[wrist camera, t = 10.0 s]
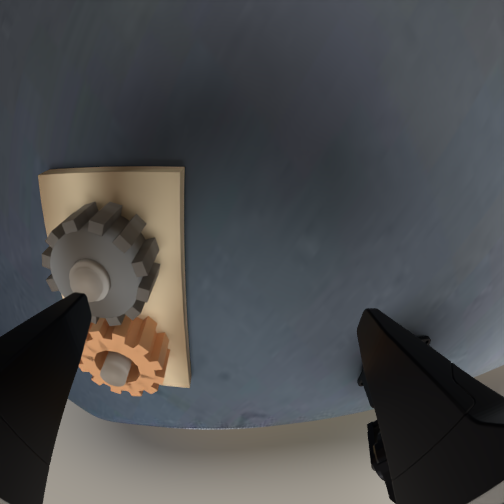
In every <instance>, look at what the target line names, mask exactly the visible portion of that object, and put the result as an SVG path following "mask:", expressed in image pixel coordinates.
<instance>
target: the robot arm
mask: <svg viewBox="0 0 504 504" xmlns="http://www.w3.org/2000/svg"><path fill="white" fill-rule="evenodd" d="M91 319H92V314H91V310H90V306H89V302H88V298H87V296H86V294H84V293H79V292H74V293H72V294H70V295H68V296H67V297H65V298H63V299H62V300H60V301H58V302H56V303H55V304H53V305H51V306H50V307H48V308H46V309H45V310H43V311H41V312H40V313H38V314H36V315H35V316H33V317H31V318H30V319H28V320H27V321H25V322H23V323H22V324H20V325H18V326H17V327H15V328H14V329H12V330H10V331H9V332H7V333H6V334H4V335H3V336H1V337H0V504H43V498H44V492H45V487H46V481H47V476H48V472H49V465H50V462H51V457H52V453H53V449H54V444H55V441H56V437H57V433H58V429H59V426H60V422H61V419H62V415H63V412H64V408H65V405H66V402H67V399H68V396H69V392H70V389H71V386H72V383H73V380H74V377H75V375H76V372H77V369H78V366H79V363H80V360H81V357H82V353H83V350H84V346H85V342H86V338H87V334H88V330H89V327H90V323H91ZM357 337H358V342H359V347H360V352H361V358H362V363H363V369H364V370H363V372H362V374H361V376H360V378H359V380H358V385H359V386H364V389H365V391H366V394H367V397H368V400H369V403H370V406H371V407H372V408H374V409H375V412H376V416H377V420H376V421H374V422H371V423H369V424H367V428H368V441H369V450H370V458H371V466H372V469H373V470H374V471H376V473H377V474H378V476H379V477H380V478H381V479H382V480H384V481H385V484H386V487H387V490H388V494H389V498H390V499H391V500H392V501H393V502H394V503H395V504H504V397H503V396H501V395H500V394H498V393H496V392H495V391H493V390H492V389H490V388H489V387H487V386H485V385H484V384H482V383H481V382H479V381H478V380H476V379H475V378H473V377H471V376H470V375H469V374H467V373H466V372H464V371H463V370H462V369H460V368H459V367H457V366H456V365H455V364H453V363H451V361H449V360H448V359H447V358H445V357H444V356H442V355H441V354H440V353H438V352H437V351H436V350H434V349H433V348H431V347H430V346H429V343H430V341H431V339H430V338H429V337H428V336H424V337H416V336H415V335H413V334H412V333H411V332H409V331H408V330H406V329H405V328H404V327H402V326H401V325H399V324H398V323H397V322H395V321H394V320H392V319H391V318H390V317H388V316H387V315H385V314H384V313H382V312H381V311H380V310H378V309H376V308H367V309H365V310H364V312H363V314H362V317H361V319H360V322H359V325H358V328H357Z"/></svg>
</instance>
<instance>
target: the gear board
mask: <svg viewBox="0 0 504 504" xmlns="http://www.w3.org/2000/svg"><path fill="white" fill-rule="evenodd" d="M184 174H185V167H164V166H121V167H86V168H66V169H51V170H48V171H46V172H44V173H42V174H40V175H38V179H39V187H40V195H41V202H42V209H43V215H44V221H45V227H46V232H47V239H46V240H45V241H46V243H47V244H48V245H49V247H48V248H47V249H46V250H45V251H44V252H43V253H42V266H43V267H46V268H48V269H51V273H52V274H51V275H50V276H49V277H48V278H47V279H46V281H47V283H48V285H49V287H50V289H51V290H52V292H53V291H60V292H61V294H62V297H63V298H65V297H67V296H68V295H70V294H72V293H74V292H79V293H84V294H86V296H87V298H88V302H89V306H90V310H91V314H92V319H91V323H94V324H96V323H97V321H98V320H99V318H105V319H106V320H107V322H108V324H109V326H117V325H121V324H122V322H123V320H124V317H125V315H126V316H128V317H129V318H130V319H131V320H134V319H135V318H136V317H138V318H140V319H142V320H144V319H145V318H146V317H148V316H149V317H150V318H152V319H153V320H154V321H155V322H157V326H156V330H155V331H156V332H157V333H164V332H165V333H166V335H167V337H168V339H169V343H168V348H167V349H170V353H169V358H168V363H167V367H166V372H165V377H164V381H163V385H165V386H175V387H185V388H190V382H191V366H190V354H189V340H188V325H187V307H186V285H185V252H184ZM131 364H132V360H131V359H130V358H128V357H126V356H124V355H122V354H120V353H118V352H113V351H109V352H108V354H107V357H106V359H105V362H104V364H103V367H102V369H101V372H100V376H101V378H102V379H103V380H104V381H105V382H106V383H108V384H110V385H113V386H117V387H121V386H124V385H125V383H126V380H127V376H128V373H129V370H130V367H131ZM90 374H91V373H90ZM159 385H162V384H159Z"/></svg>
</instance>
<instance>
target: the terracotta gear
mask: <svg viewBox="0 0 504 504" xmlns="http://www.w3.org/2000/svg"><path fill="white" fill-rule="evenodd" d="M156 326H157V322H155V321H154V320H153V319H152V318H150V317H149V316H148V317H146V318H145V319H144V320H142V319H140V318H138V317H136V318H135V319H134V320H131V319H130V318H129V317H128V316H126V315H125V317H124V320H123V322H122V324H121V325H117V326H109V324H108V322H107V320H106V319H105V318H99V320H98V321H97V323H96V324H94V323H90V327H89V330H88V334H87V338H86V342H85V346H84V350H83V353H82V357H81V360H80V363H79V367H80V369H81V370H82V371H83V372H90V373H91V374H92V375H93V376H92V379H91V380H93V381H94V382H95V383H97V384H98V385H101V384H103V383H104V384H106V385H108V386H110V387H111V391H113V392H116V393H119V394H121V392H122V390H123V391H129V392H130V394H131V395H132V396H142V393H143V390H145V391H147V392H149V393H150V394H152V393H154V392H156V391H158V387H159V384H162V385H163V381H164V377H165V372H166V367H167V363H168V358H169V353H170V349H167V348H168V343H169V339H168V337H167V335H166V333H165V332H164V333H157V332H156V331H155V330H156ZM109 351H113V352H118V353H120V354H122V355H124V356H126V357H128V358H130V359H131V360H132V364H131V367H130V370H129V373H128V376H127V380H126V383H125V385H124V386H121V387H117V386H113V385H110V384H108V383H106V382H105V381H104V380H103V379H102V378H101V376H100V372H101V369H102V367H103V364H104V362H105V359H106V357H107V354H108V352H109Z"/></svg>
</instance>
